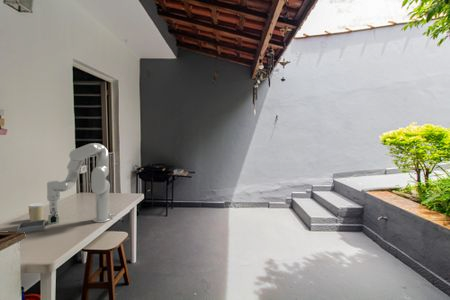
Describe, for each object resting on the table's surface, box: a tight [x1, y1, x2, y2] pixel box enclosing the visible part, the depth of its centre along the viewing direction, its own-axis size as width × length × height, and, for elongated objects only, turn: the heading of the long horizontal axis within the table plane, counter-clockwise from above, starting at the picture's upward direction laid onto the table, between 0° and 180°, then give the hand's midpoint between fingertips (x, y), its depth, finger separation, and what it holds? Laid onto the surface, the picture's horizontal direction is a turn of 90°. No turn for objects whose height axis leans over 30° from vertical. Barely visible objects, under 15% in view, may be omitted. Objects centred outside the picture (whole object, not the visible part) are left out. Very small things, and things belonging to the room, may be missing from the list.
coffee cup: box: [28, 202, 45, 222], centre depth 180 cm, size 9×9×12 cm
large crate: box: [16, 219, 46, 234], centre depth 163 cm, size 14×14×4 cm
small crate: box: [47, 213, 60, 225], centre depth 177 cm, size 6×6×5 cm
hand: (53, 220), depth 177 cm, fingers open, 8 cm apart
